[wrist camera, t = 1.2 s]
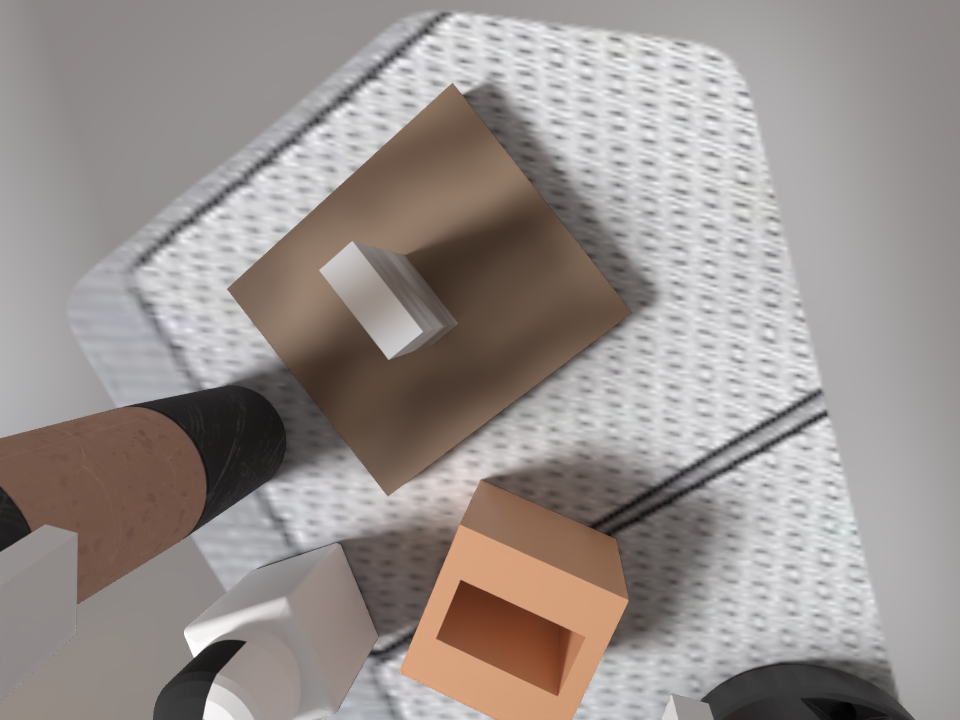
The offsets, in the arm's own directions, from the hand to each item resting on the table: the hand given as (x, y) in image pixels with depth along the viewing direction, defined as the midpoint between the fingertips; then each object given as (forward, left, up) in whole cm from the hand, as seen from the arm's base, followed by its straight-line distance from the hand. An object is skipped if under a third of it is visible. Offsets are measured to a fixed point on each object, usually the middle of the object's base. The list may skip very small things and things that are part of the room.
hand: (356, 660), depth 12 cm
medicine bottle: (-2, +18, -23) cm, 29 cm away
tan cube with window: (-8, +5, -23) cm, 25 cm away
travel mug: (+10, +15, -23) cm, 29 cm away
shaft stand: (+9, -1, -23) cm, 24 cm away
